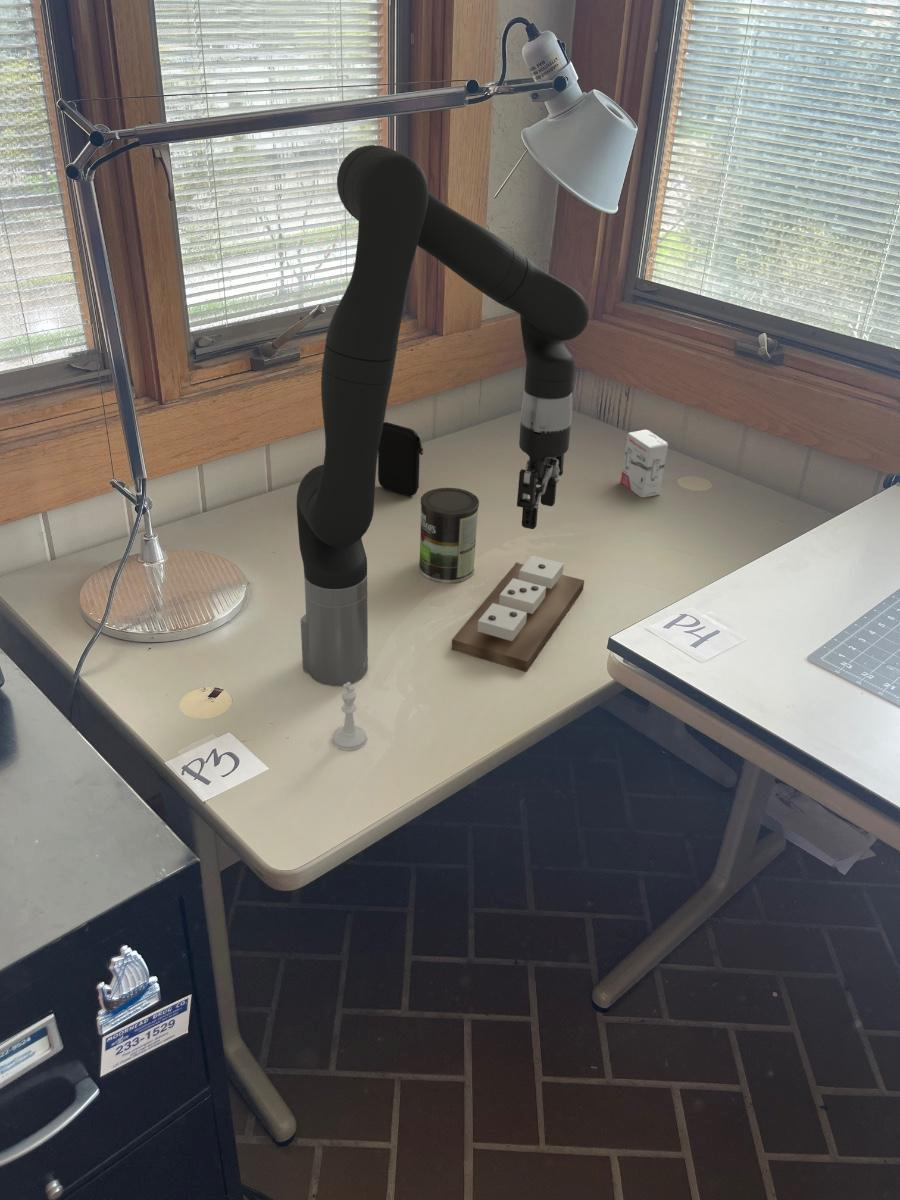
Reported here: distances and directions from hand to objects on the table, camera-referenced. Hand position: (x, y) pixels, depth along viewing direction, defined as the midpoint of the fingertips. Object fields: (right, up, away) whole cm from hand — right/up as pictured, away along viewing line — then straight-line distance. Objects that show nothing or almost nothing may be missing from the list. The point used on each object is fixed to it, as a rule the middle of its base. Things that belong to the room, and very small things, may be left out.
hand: (538, 515), depth 160 cm
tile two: (-6, -18, +3) cm, 19 cm away
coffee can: (-15, -8, +25) cm, 30 cm away
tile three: (-2, -13, +10) cm, 17 cm away
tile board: (-2, -16, +12) cm, 21 cm away
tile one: (+2, -9, +17) cm, 20 cm away
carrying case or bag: (-24, +9, +51) cm, 58 cm away
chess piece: (-28, -33, -16) cm, 46 cm away
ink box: (+27, +11, +58) cm, 64 cm away
